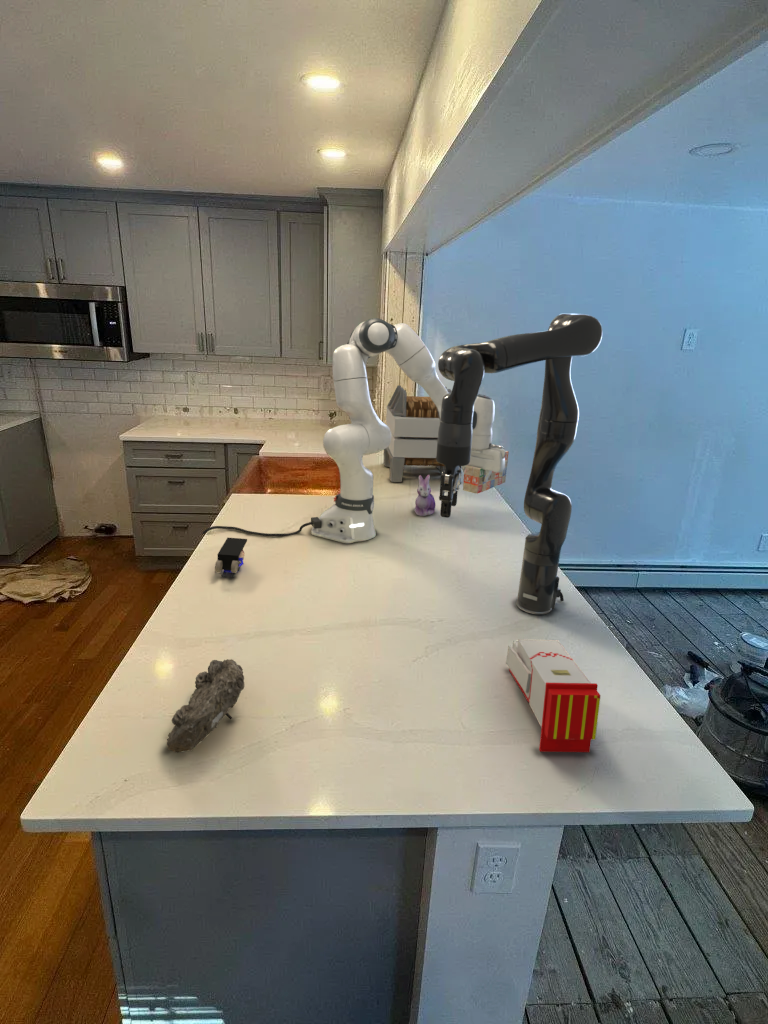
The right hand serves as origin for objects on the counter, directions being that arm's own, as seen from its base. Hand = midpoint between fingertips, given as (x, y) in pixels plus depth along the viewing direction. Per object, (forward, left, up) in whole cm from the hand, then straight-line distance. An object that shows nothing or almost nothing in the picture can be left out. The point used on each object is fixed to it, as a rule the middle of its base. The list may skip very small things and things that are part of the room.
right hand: (448, 510), depth 130 cm
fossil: (+55, +16, -32) cm, 66 cm away
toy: (-8, +32, -32) cm, 46 cm away
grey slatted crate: (-52, -132, -32) cm, 146 cm away
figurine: (-32, -80, -32) cm, 92 cm away
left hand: (-42, -61, -13) cm, 75 cm away
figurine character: (+45, -47, -32) cm, 72 cm away
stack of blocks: (-48, -65, -17) cm, 83 cm away
